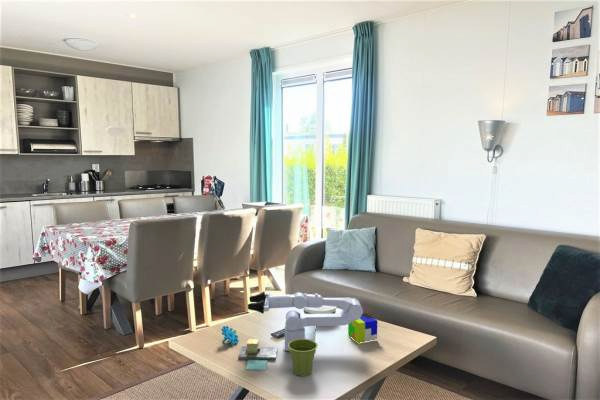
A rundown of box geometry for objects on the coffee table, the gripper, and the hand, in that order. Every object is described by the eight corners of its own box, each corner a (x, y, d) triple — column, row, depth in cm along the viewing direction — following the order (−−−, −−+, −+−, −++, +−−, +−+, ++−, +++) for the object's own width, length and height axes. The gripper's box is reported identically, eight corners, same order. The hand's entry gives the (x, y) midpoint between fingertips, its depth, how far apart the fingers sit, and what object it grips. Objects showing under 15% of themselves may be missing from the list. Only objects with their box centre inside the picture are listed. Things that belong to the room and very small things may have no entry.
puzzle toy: (376, 340, 196) (377, 320, 195) (358, 344, 193) (358, 323, 192) (366, 332, 206) (366, 313, 205) (348, 335, 202) (348, 315, 201)
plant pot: (323, 371, 167) (323, 344, 166) (303, 382, 159) (304, 354, 158) (301, 361, 175) (301, 336, 174) (281, 372, 167) (281, 345, 165)
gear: (232, 345, 187) (219, 327, 189) (224, 353, 188) (211, 335, 190) (243, 339, 197) (231, 322, 200) (235, 346, 198) (223, 329, 201)
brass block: (258, 352, 184) (258, 339, 183) (257, 357, 179) (257, 343, 179) (248, 352, 184) (248, 339, 183) (246, 357, 179) (246, 343, 179)
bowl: (319, 329, 209) (319, 313, 209) (294, 318, 223) (294, 303, 222) (344, 320, 222) (344, 304, 221) (319, 310, 236) (319, 296, 235)
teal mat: (267, 360, 176) (267, 360, 176) (265, 370, 168) (265, 369, 168) (248, 360, 176) (248, 359, 176) (245, 370, 168) (245, 369, 168)
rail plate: (277, 349, 186) (277, 346, 186) (275, 360, 176) (275, 357, 176) (242, 349, 187) (242, 346, 186) (238, 359, 177) (238, 356, 177)
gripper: (279, 286, 193) (249, 288, 193) (277, 300, 179) (246, 301, 179) (279, 300, 195) (250, 302, 195) (278, 315, 180) (247, 316, 180)
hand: (248, 303), depth 187 cm, fingers open, 7 cm apart
